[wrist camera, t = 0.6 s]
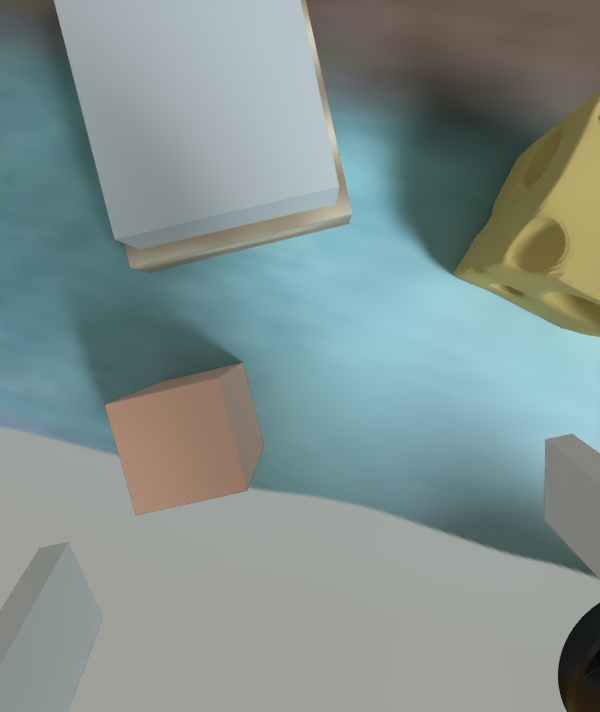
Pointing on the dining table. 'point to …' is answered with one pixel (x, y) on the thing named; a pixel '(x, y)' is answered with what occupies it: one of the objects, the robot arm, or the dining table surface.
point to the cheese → (547, 228)
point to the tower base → (258, 231)
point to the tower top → (199, 113)
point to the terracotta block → (187, 438)
